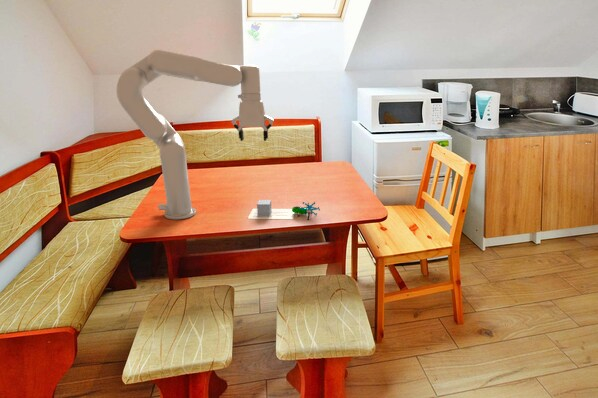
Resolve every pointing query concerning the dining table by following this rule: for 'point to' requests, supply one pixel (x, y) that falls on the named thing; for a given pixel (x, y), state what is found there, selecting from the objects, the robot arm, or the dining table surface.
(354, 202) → the dining table surface
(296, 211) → the stick construction toy
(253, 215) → the letter
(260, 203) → the cube
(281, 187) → the dining table surface
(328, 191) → the dining table surface
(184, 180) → the robot arm
